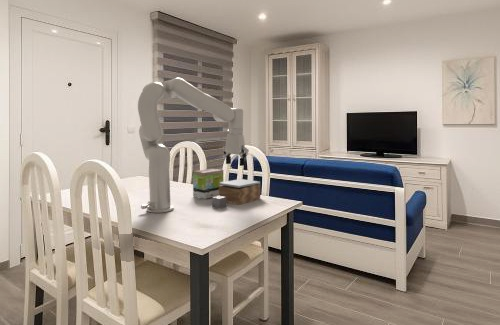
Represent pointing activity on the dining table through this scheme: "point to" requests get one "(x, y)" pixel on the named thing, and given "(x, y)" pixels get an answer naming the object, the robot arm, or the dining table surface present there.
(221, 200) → the block
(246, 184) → the lid
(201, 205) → the dining table surface
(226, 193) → the box
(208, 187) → the tea box
